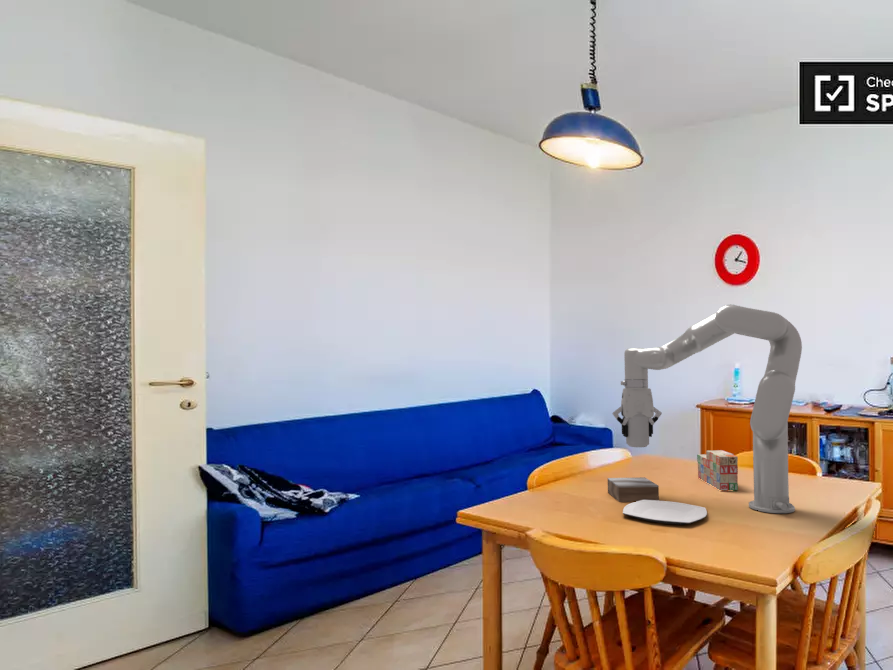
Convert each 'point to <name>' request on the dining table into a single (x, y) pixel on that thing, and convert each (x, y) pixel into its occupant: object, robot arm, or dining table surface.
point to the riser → (633, 489)
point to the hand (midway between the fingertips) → (637, 436)
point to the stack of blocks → (718, 469)
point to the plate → (665, 511)
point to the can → (638, 430)
